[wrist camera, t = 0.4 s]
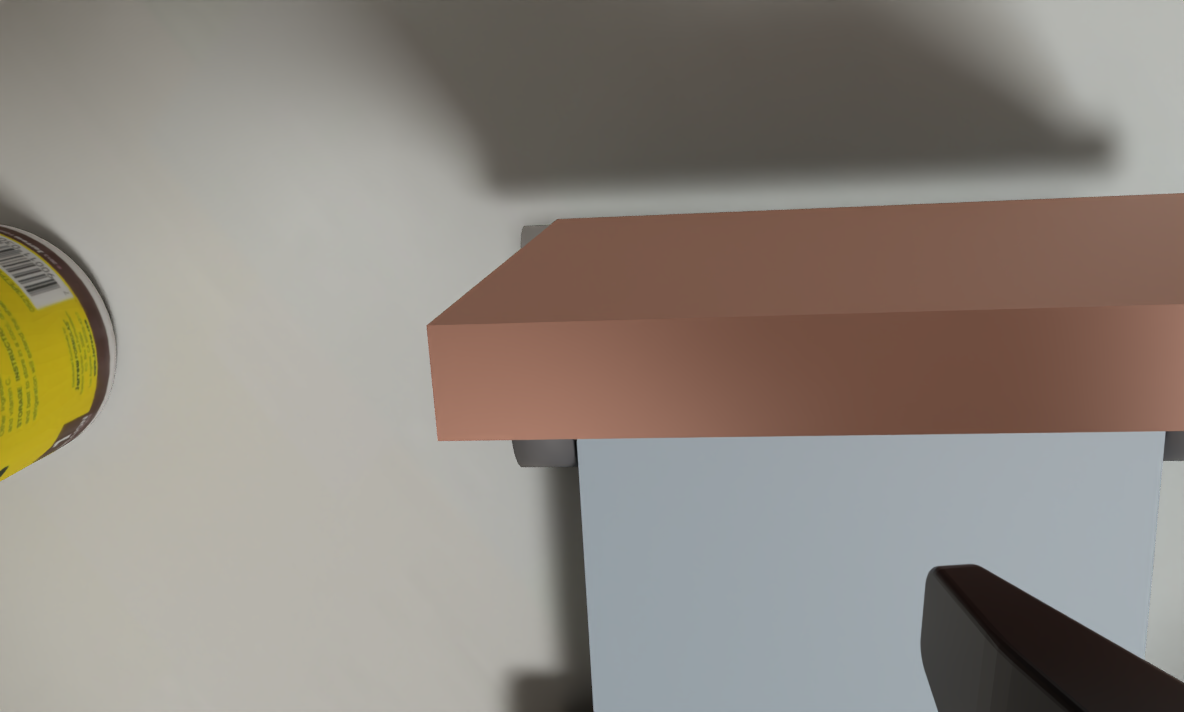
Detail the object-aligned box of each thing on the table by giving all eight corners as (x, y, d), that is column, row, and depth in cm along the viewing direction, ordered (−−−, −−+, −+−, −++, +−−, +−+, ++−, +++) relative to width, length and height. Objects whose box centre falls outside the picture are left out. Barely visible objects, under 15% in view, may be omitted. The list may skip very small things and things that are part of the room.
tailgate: (1220, 253, 18) (1750, 424, 9) (531, 277, 19) (370, 442, 10) (1227, 185, 17) (1786, 287, 8) (527, 215, 19) (358, 327, 10)
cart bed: (1136, 845, 23) (1187, 935, 21) (564, 825, 25) (548, 905, 23) (1193, 254, 20) (1261, 277, 18) (525, 277, 22) (500, 300, 19)
